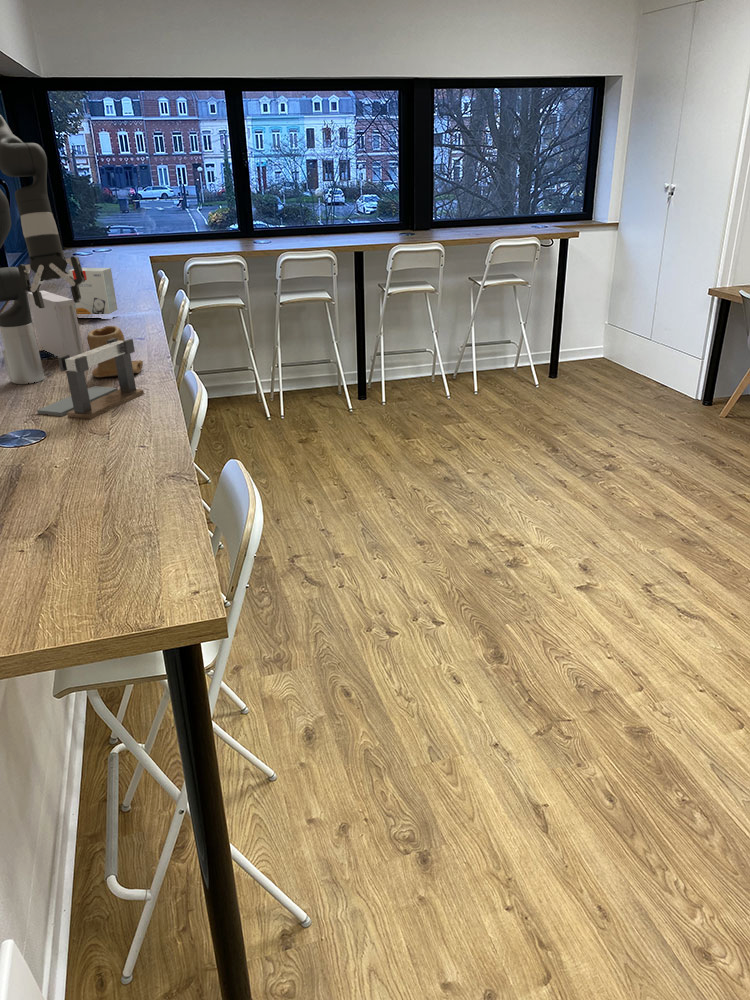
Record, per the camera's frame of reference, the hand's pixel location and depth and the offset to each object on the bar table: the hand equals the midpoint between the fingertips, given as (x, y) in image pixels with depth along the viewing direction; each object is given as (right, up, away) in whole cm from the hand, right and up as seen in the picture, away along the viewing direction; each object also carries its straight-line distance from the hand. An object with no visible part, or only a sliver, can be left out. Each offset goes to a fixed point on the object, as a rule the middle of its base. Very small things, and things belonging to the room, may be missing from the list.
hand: (59, 305), depth 181 cm
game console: (-32, +3, +78) cm, 84 cm away
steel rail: (+3, -10, +19) cm, 21 cm away
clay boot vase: (-3, -9, +51) cm, 52 cm away
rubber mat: (-6, -20, +27) cm, 34 cm away
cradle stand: (+3, -21, +24) cm, 32 cm away
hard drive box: (-41, +30, +136) cm, 145 cm away
